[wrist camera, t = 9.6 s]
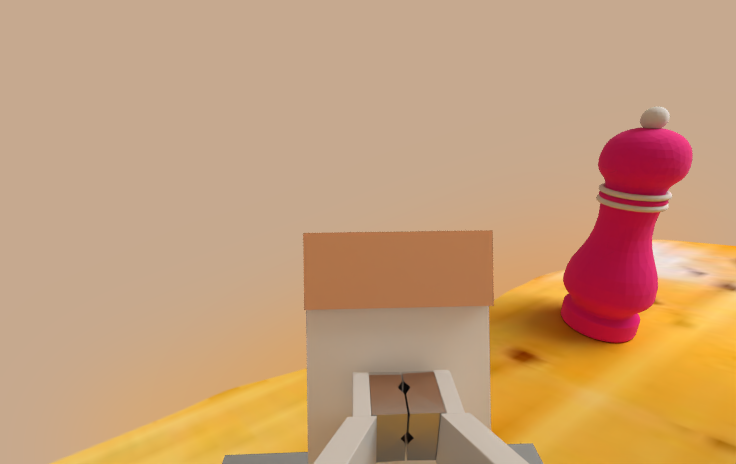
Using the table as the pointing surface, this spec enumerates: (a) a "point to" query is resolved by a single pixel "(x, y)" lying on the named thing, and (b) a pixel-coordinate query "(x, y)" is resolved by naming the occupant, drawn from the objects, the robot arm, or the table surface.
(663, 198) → the pepper mill
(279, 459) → the switch board
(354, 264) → the block
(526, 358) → the table surface
